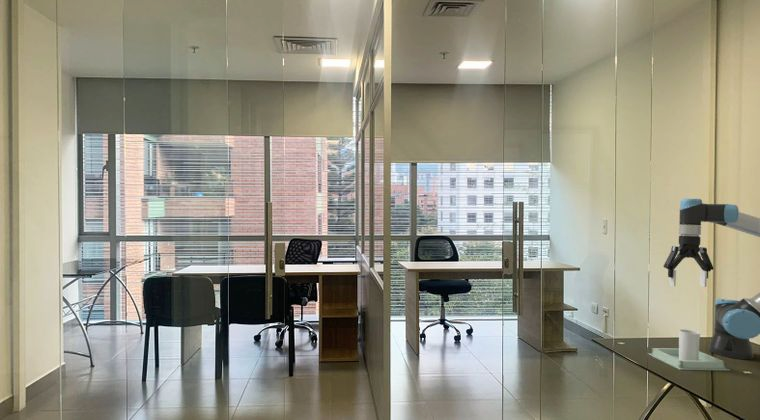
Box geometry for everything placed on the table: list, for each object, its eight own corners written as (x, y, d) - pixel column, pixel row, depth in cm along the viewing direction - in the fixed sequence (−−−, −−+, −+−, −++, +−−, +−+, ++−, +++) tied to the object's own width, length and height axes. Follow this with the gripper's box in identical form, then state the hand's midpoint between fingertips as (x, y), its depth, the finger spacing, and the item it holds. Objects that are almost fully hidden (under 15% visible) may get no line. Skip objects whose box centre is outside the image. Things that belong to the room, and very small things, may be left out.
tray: (693, 355, 186) (693, 348, 186) (730, 370, 168) (730, 362, 168) (647, 354, 185) (648, 347, 185) (679, 369, 167) (680, 362, 167)
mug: (699, 366, 171) (700, 335, 171) (678, 362, 174) (679, 331, 174) (697, 359, 179) (698, 329, 179) (677, 355, 183) (678, 326, 183)
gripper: (710, 235, 192) (708, 285, 192) (655, 233, 190) (653, 283, 190) (725, 237, 184) (723, 288, 184) (667, 234, 183) (665, 286, 183)
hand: (687, 285), depth 187 cm, fingers open, 13 cm apart
